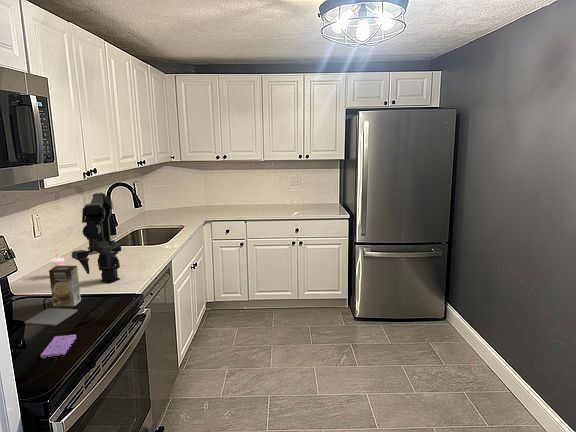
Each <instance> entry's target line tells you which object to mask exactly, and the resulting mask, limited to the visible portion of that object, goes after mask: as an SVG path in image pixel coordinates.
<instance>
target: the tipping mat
mask: <svg viewBox="0 0 576 432" xmlns="http://www.w3.org/2000/svg"><path fill="white" fill-rule="evenodd" d="M77 312H78V309H73V308H58V307H57V308H56V307H48V308H46V309H45V310H42V311H41V312H39V313H37V314H36V315H34V316H33V317H31V318H29V319H28V320H26V321H24V324H26V325H37V326H39V325H40V326H53V327H54V326H55V327H56V326H57V325H59V324H61V323H62V322H64V321H65V320H67V319H68V318H70V317H72V315H74V314H76V313H77Z"/></svg>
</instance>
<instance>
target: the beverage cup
mask: <svg viewBox="0 0 576 432" xmlns="http://www.w3.org/2000/svg"><path fill="white" fill-rule="evenodd" d="M57 251H58V250H57V249H55V257H54V258H51V259H50V263H51V269H52V268H53V267H55V266H65V258H64V257H59V256H58V252H57Z"/></svg>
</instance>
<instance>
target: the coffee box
mask: <svg viewBox="0 0 576 432" xmlns="http://www.w3.org/2000/svg"><path fill="white" fill-rule="evenodd" d="M48 273H49V281H50V290H51V297H52V307H53V308H56V307H57V308H58V307H76V306H77V305H78V304H79V303H80V302H81V301H82V298H81V290H80V280H79V273H78V265H64V266H55V267H53V268H52V267H51V269H48Z"/></svg>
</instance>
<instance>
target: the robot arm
mask: <svg viewBox="0 0 576 432" xmlns="http://www.w3.org/2000/svg"><path fill="white" fill-rule="evenodd" d="M113 207H114V203H113V201H112V198H111V197H109V196H107V195H106V193H103V192H100V193H93V194H92V199H91V201H90V203H86V204H85V205H84V206H83V208H82V214H81V215H82V216H81V223H83V224H84V223H86V225H84V227H83V228H82V234H83V236H84V237H85V238H86V241H88V247H87V250H84V249H78V250H73V251H72V253H71V259H74V260H76V261H78V262H79V263H80V264H81V266H82V267H83V269H84V271H85V272H86V274H87V275H90V265H89V260H90V258H88V257H89V256H92V255H96V254H99V255H98V258H97V266H98V270H99V271H100V272H101V274H100V275H101V280H100V282H102V283H107V284H111V283H114V282H117V281H119V280H121V278H120V277H119V275H118V269H120V268H121V264H120V260H119V258H118V256H117V255H118V254H119V253H120V252H122V246H121V245H120V244H117V243H116V241H115V239H113V240H111V238H112V237H111V227H110V217H111V215H112V213H113V212H112V211H113V209H114V208H113Z"/></svg>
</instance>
